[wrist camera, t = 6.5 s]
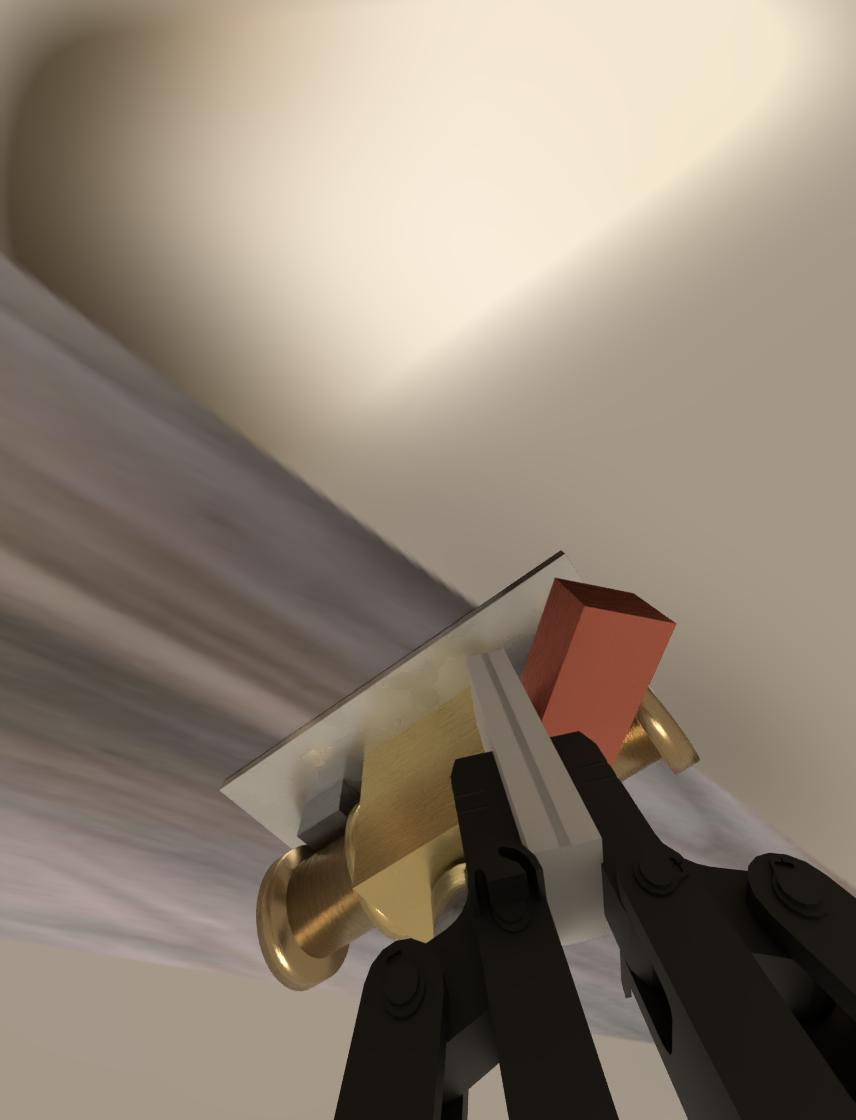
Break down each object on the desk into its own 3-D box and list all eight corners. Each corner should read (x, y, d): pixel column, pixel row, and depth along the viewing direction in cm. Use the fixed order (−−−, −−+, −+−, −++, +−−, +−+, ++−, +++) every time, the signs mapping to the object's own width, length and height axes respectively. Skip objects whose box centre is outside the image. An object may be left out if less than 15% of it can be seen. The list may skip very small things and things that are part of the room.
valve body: (369, 901, 29) (360, 1068, 22) (223, 781, 25) (149, 936, 18) (670, 719, 26) (782, 839, 19) (560, 550, 22) (647, 616, 15)
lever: (508, 929, 19) (523, 997, 16) (421, 922, 18) (425, 992, 16) (647, 594, 14) (695, 627, 12) (535, 572, 13) (564, 601, 11)
